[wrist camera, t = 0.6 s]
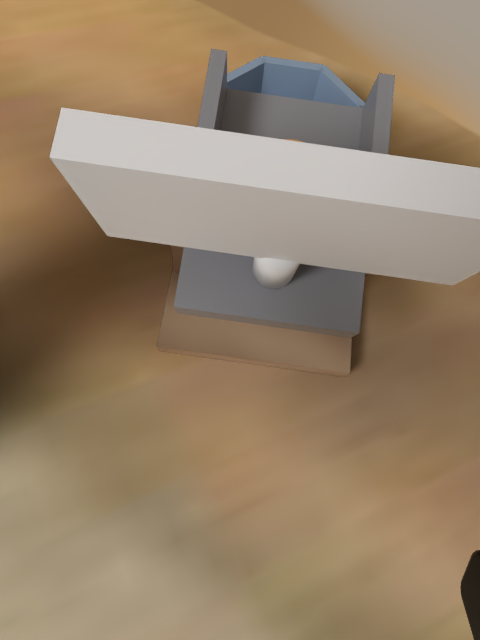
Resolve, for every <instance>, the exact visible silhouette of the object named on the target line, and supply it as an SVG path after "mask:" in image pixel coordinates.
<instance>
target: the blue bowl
mask: <svg viewBox="0 0 480 640" xmlns="http://www.w3.org/2000/svg"><path fill="white" fill-rule="evenodd" d="M227 89H234V90H241V91H248V92H255V93H262V94H269V95H275V96H282V97H289V98H296V99H303V100H310V101H317V102H324V103H331V104H338V105H345V106H352V107H359V108H363V107H364V105H365V102H363V101H362V100H361V99H360V98H359V97H358V96H357V95H356V94H355V93H354V92H353V91H352V90H351V89H350V88H349V87H348V86H347V85H346V84H344V83H343V82H342V81H341V80H340V79H339V78H338V77H337V76H336V75H335V74H334V73H333V72H332V71H331V70H330V69H329V68H328V67H327V66H324V65H322V64H316V63H309V62H302V61H295V60H288V59H281V58H274V57H267V56H263V58H262V57H259V58H257V59H255V60H253V61H251V62H249V63H247V64H245V65H244V66H242V67H240V68H238V69H236V70H234V71H232V72H230V73H228V74H227Z"/></svg>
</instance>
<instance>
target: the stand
mask: <svg viewBox="0 0 480 640" xmlns="http://www.w3.org/2000/svg"><path fill="white" fill-rule="evenodd" d="M170 248H171V253H172V258H173V263H174V264H173V269H172V274H171V278H170V283H169V288H168V293H167V298H166V303H165V307H164V312H163V317H162V322H161V327H160V332H159V336H158V341H157V347H158V349H159V351H165V352H172V353H180V354H187V355H194V356H201V357H208V358H215V359H222V360H229V361H236V362H243V363H250V364H257V365H264V366H271V367H278V368H285V369H292V370H299V371H306V372H313V373H320V374H327V375H334V376H341V377H345V376H347V375H348V374H349V373H350V365H351V344H352V337H351V338H348V337H341V336H334V335H327V334H320V333H313V332H306V331H299V330H292V329H285V328H278V327H271V326H264V325H257V324H250V323H243V322H236V321H229V320H222V319H215V318H208V317H201V316H194V315H187V314H180V313H177V312H176V310H175V308H174V302H175V296H176V290H177V284H178V278H179V273H180V267H181V261H182V255H183V249H184V247H180V246H173V245H170ZM367 274H368V273H365V277H366V276H367Z"/></svg>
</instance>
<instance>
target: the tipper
mask: <svg viewBox="0 0 480 640" xmlns="http://www.w3.org/2000/svg"><path fill="white" fill-rule="evenodd" d="M394 80H395V75H389V74H382V73H379V75H378V77H377V79H376V81H375V83H374V85H373V87H372V90H371V92H370V94H369V96H368V98H367V100H366V102H365V105H364V107H363V108H359V107H352V106H345V105H338V104H331V103H324V102H317V101H310V100H303V99H296V98H289V97H282V96H275V95H269V94H262V93H255V92H248V91H241V90H234V89H227V51H223V50H216V49H211V53H210V59H209V64H208V70H207V76H206V82H205V87H204V93H203V99H202V104H201V110H200V116H199V122H198V127H193V126H186V125H179V124H172V123H165V122H158V121H151V120H144V119H137V118H130V117H123V116H117V115H110V114H103V113H96V112H89V111H82V110H75V109H68V108H61V112H60V116H59V120H58V124H57V129H56V133H55V137H54V141H53V145H52V149H51V153H50V159H51V160H52V162H53V163H54V164H55V166H56V167H57V168H58V170H59V171H60V172H61V174H62V175H63V177H64V178H65V179H66V181H67V182H68V183H69V185H70V186H71V187H72V189H73V190H74V192H75V193H76V194H77V196H78V197H79V198H80V200H81V201H82V202H83V204H84V205H85V206H86V208H87V209H88V211H89V212H90V213H91V215H92V216H93V217H94V219H95V220H96V221H97V223H98V224H99V226H100V227H101V228H102V230H103V231H104V232H105V234H106V235H107V236H111V237H118V238H125V239H132V240H139V241H146V242H153V243H160V244H166V245H173V246H180V247H184V249H183V255H182V261H181V267H180V273H179V278H178V284H177V290H176V296H175V302H174V308H175V310H176V312H177V313H180V314H187V315H194V316H201V317H208V318H215V319H222V320H229V321H236V322H243V323H250V324H257V325H264V326H271V327H278V328H285V329H292V330H299V331H306V332H313V333H320V334H327V335H334V336H341V337H348V338H351V337H353V336H355V335H357V334H359V333H360V323H361V312H362V300H363V289H364V278H365V273H369V274H376V275H383V276H390V277H397V278H404V279H411V280H418V281H425V282H432V283H439V284H446V285H455V284H457V283H459V282H461V281H463V280H465V279H467V278H469V277H471V276H473V275H475V274H477V273H478V272H480V168H478V167H471V166H464V165H457V164H450V163H443V162H436V161H429V160H422V159H415V158H408V157H401V156H394V155H388V151H389V139H390V127H391V115H392V104H393V92H394ZM283 139H294V140H299V141H302V142H297V141H290V140H283Z"/></svg>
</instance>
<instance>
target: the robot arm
mask: <svg viewBox="0 0 480 640" xmlns="http://www.w3.org/2000/svg"><path fill="white" fill-rule="evenodd" d="M461 596H462V600H463V603H464V607H465V610H466V614H467V617H468V621H469V624H470V627H471V631H472V634H473V638H474V640H480V550H477V551H475V552H474V553H473V554H472V555H471V558H470V560H469V563H468V566H467V568H466V571H465V573H464V576H463V578H462V581H461Z"/></svg>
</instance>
